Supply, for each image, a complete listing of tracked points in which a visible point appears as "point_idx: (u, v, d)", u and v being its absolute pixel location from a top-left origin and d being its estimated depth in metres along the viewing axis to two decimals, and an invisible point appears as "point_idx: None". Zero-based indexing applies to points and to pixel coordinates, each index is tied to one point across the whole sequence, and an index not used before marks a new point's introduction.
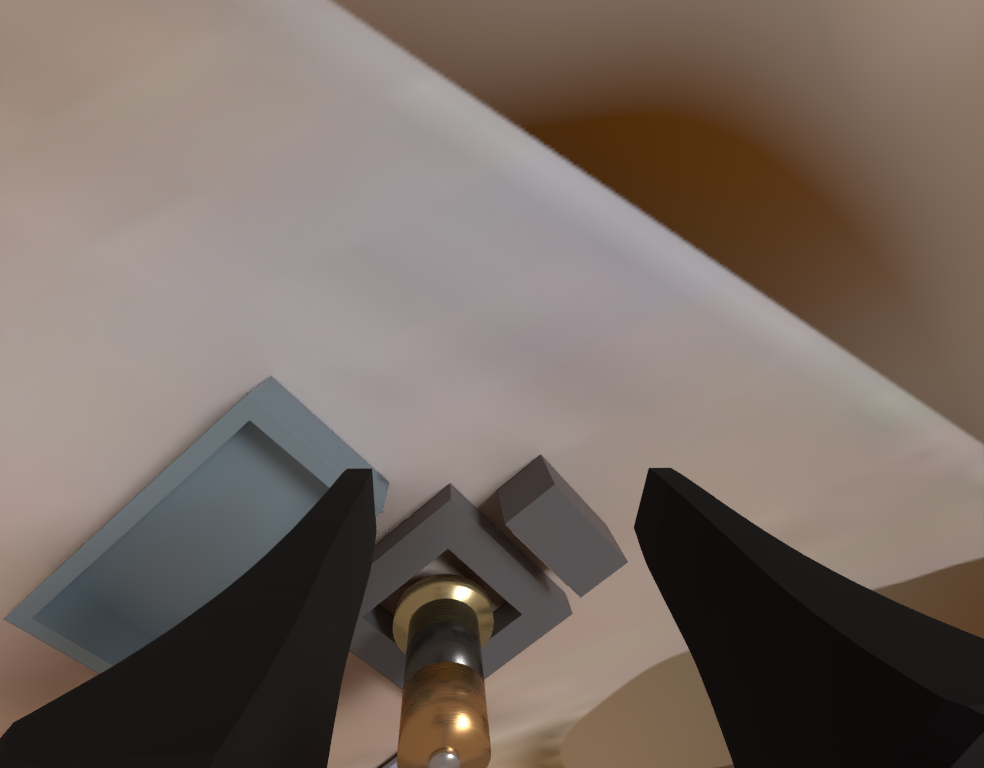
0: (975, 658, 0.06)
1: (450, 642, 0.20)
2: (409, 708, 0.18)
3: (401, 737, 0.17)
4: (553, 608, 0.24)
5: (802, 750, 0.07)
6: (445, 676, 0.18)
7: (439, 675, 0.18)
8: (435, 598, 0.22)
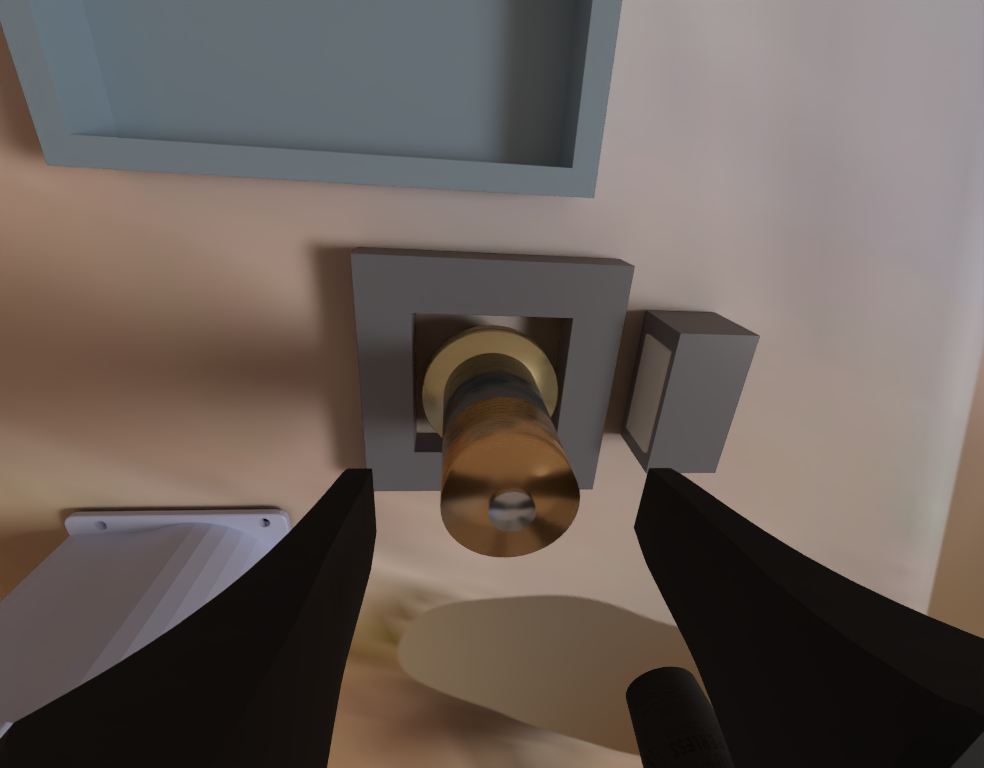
0: (975, 658, 0.06)
1: (542, 402, 0.14)
2: (500, 421, 0.12)
3: (485, 442, 0.11)
4: (584, 470, 0.20)
5: (802, 750, 0.07)
6: (548, 424, 0.13)
7: (542, 418, 0.13)
8: (518, 357, 0.16)
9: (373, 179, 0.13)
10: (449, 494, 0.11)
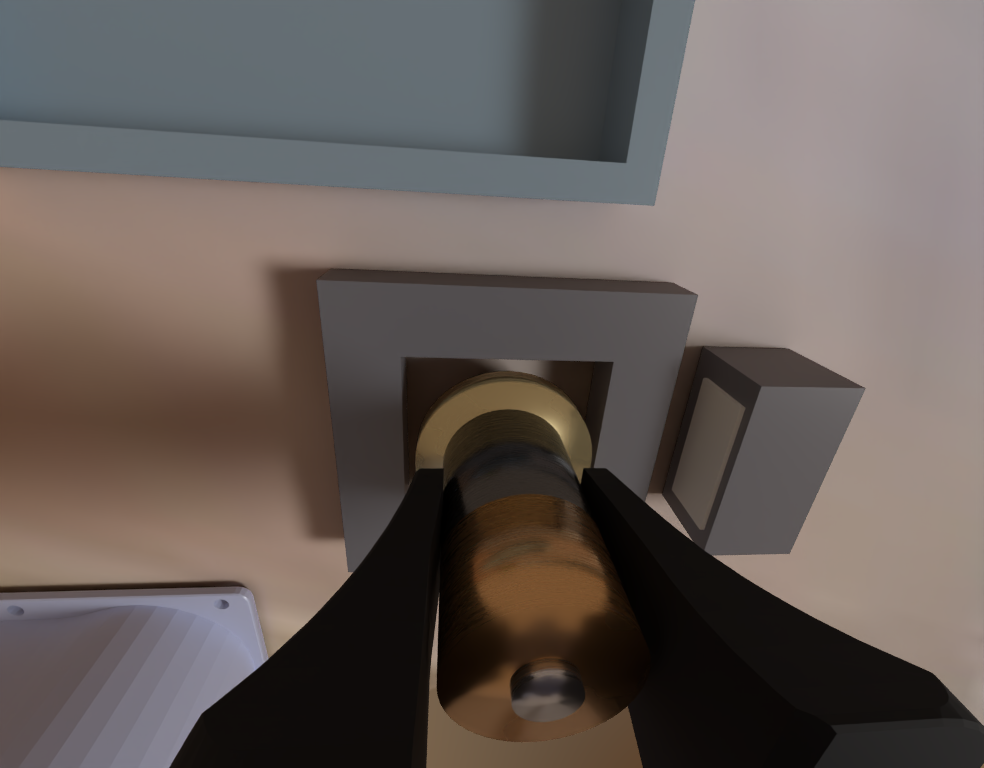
0: (849, 663, 0.05)
1: (580, 489, 0.10)
2: (528, 547, 0.08)
3: (507, 592, 0.07)
4: None
5: (692, 758, 0.07)
6: (594, 535, 0.09)
7: (586, 527, 0.09)
8: (541, 414, 0.12)
9: (342, 179, 0.09)
10: (450, 670, 0.07)
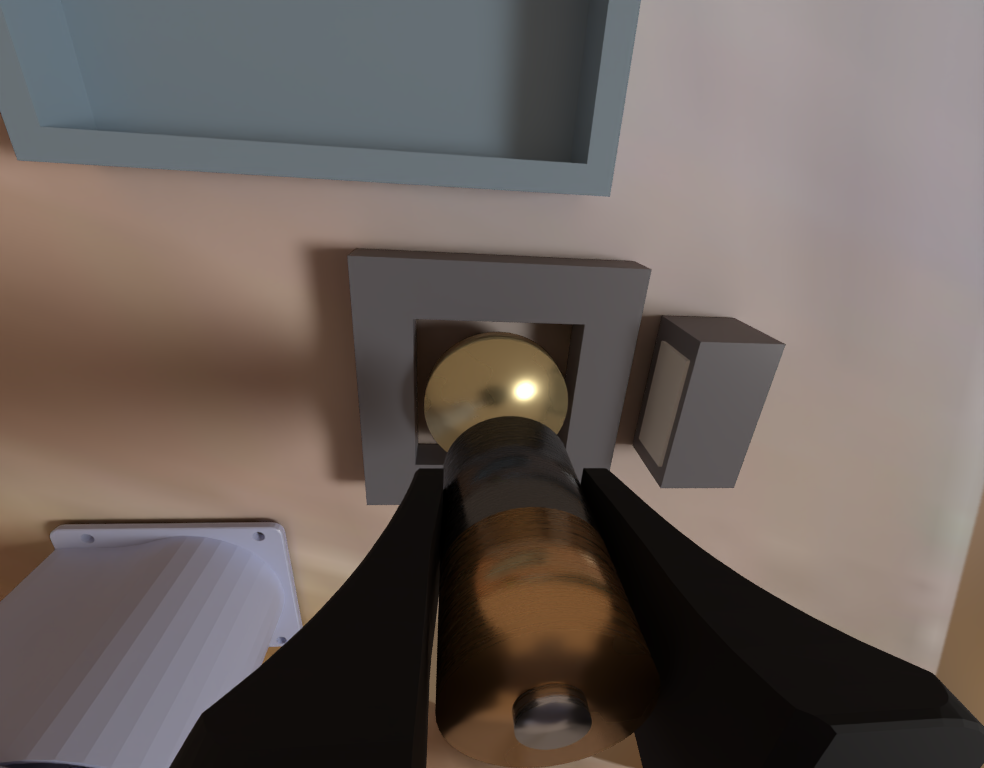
0: (849, 664, 0.05)
1: (584, 500, 0.10)
2: (532, 565, 0.07)
3: (510, 614, 0.07)
4: None
5: (692, 757, 0.07)
6: (600, 551, 0.08)
7: (591, 542, 0.08)
8: (526, 366, 0.15)
9: (371, 176, 0.12)
10: (450, 696, 0.07)
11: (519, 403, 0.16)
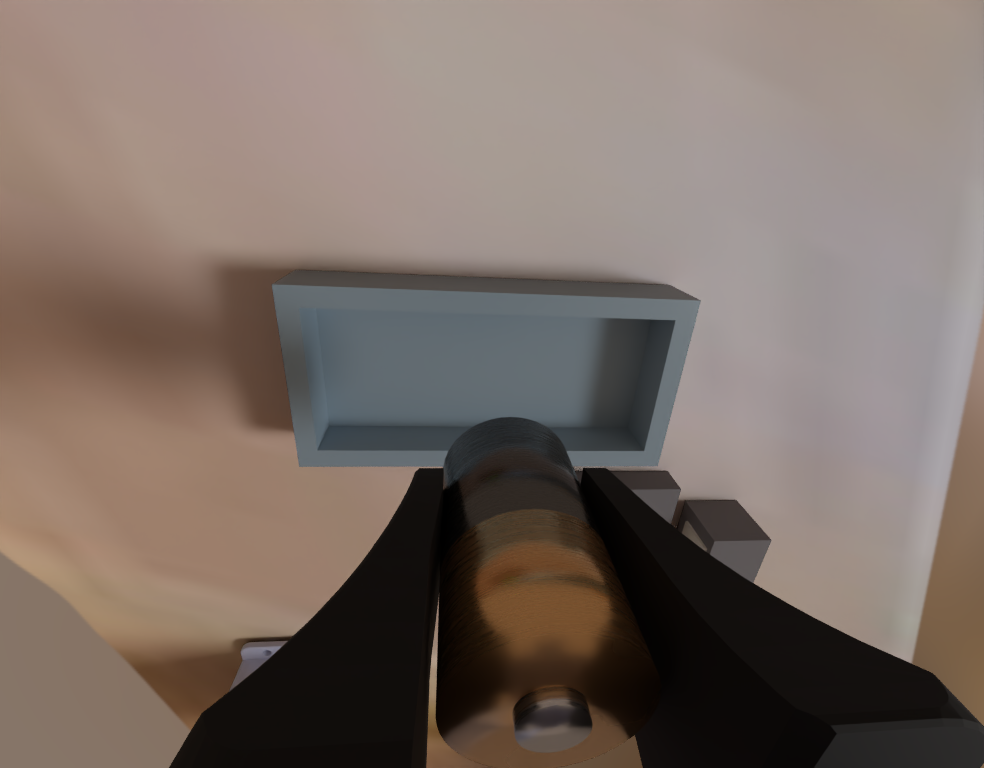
0: (849, 664, 0.05)
1: (584, 501, 0.10)
2: (531, 568, 0.07)
3: (509, 618, 0.07)
4: None
5: (692, 758, 0.07)
6: (600, 552, 0.08)
7: (591, 543, 0.08)
8: None
9: None
10: (450, 700, 0.07)
11: None
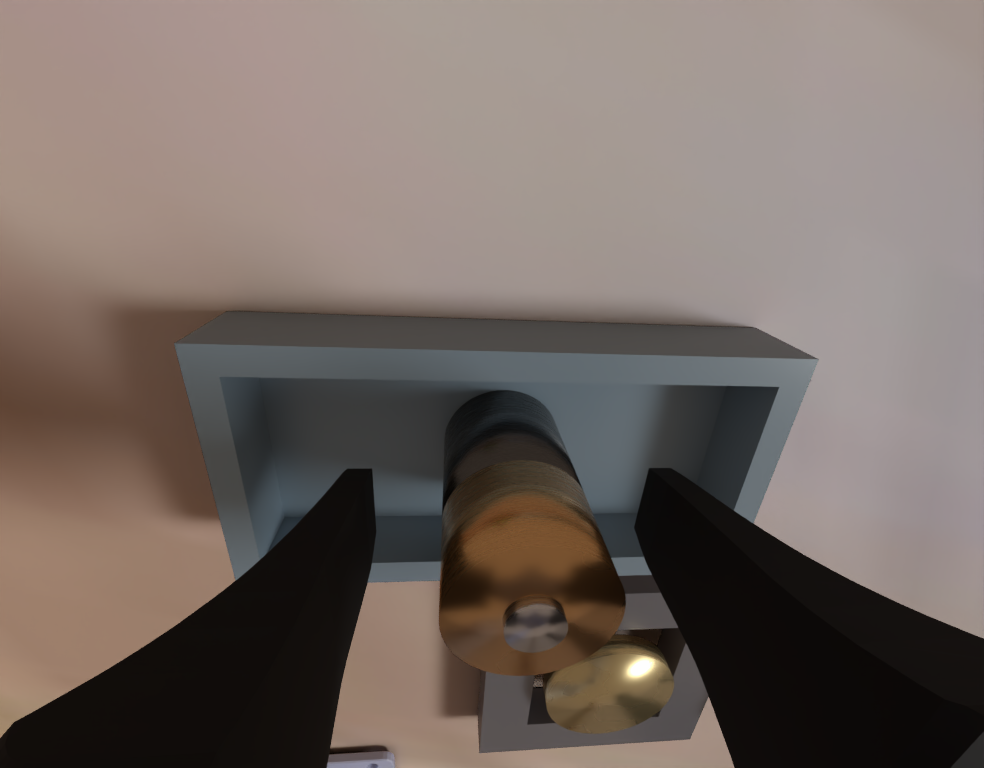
0: (975, 658, 0.06)
1: (568, 459, 0.11)
2: (518, 502, 0.09)
3: (499, 537, 0.08)
4: (684, 727, 0.21)
5: (802, 750, 0.07)
6: (579, 496, 0.10)
7: (571, 488, 0.10)
8: (640, 669, 0.17)
9: None
10: (450, 606, 0.08)
11: (630, 692, 0.18)
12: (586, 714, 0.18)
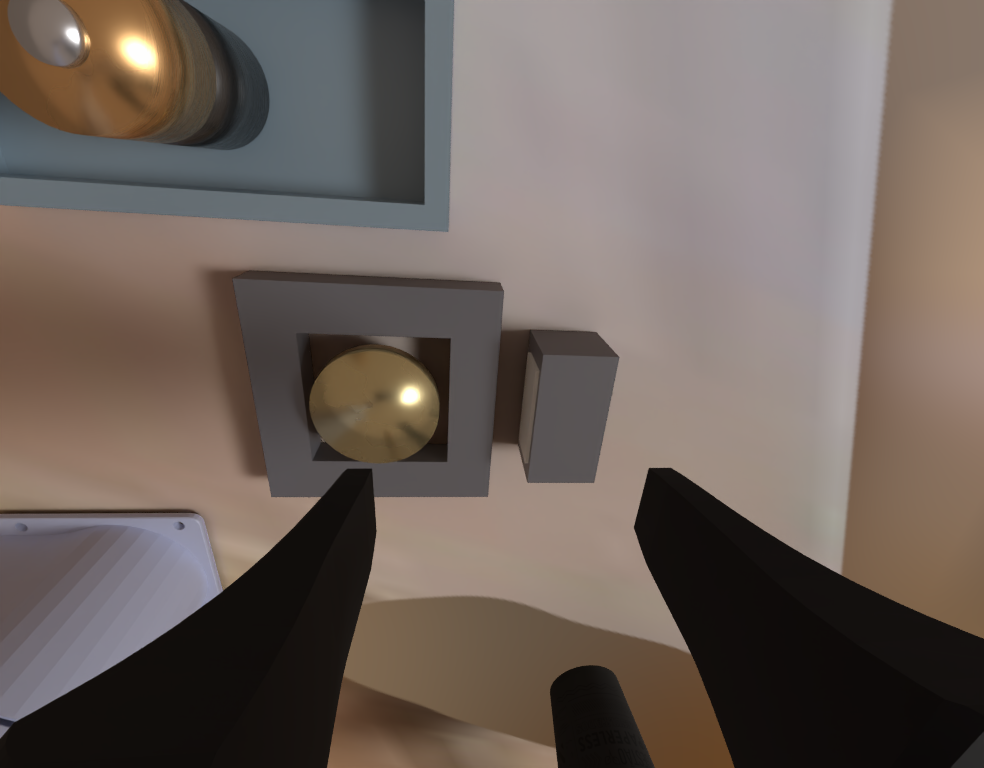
0: (975, 658, 0.06)
1: (209, 24, 0.12)
2: None
3: None
4: (478, 478, 0.21)
5: (802, 750, 0.07)
6: None
7: None
8: (397, 375, 0.18)
9: (238, 214, 0.14)
10: None
11: (395, 407, 0.18)
12: (356, 434, 0.19)
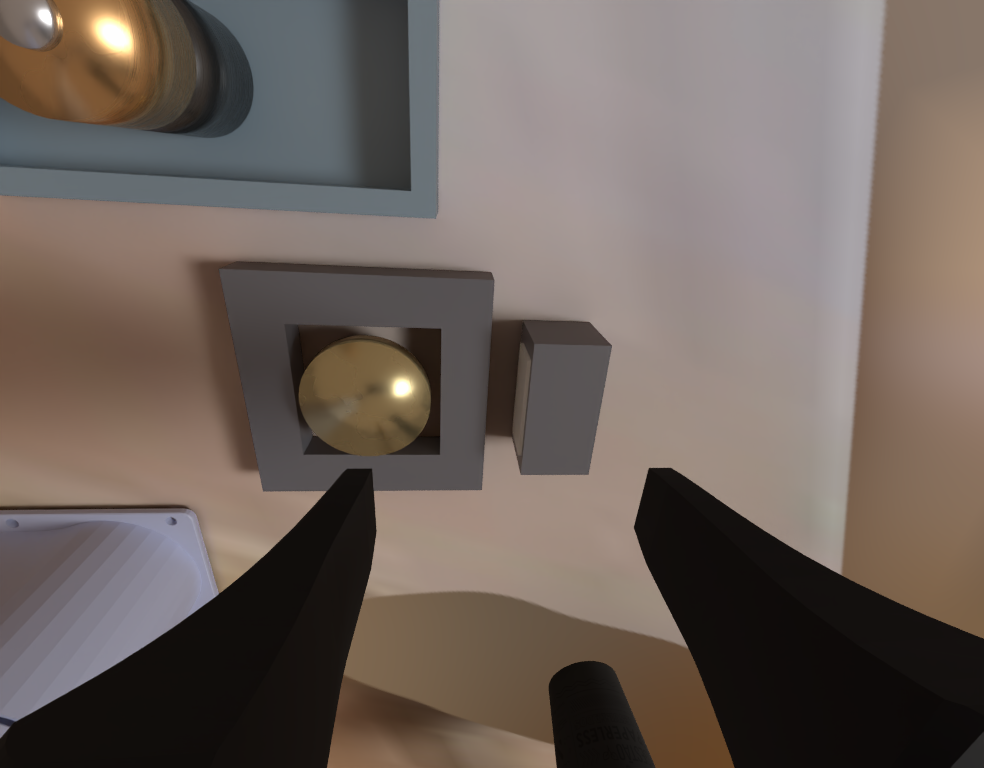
0: (976, 658, 0.06)
1: (188, 8, 0.12)
2: None
3: None
4: (471, 471, 0.21)
5: (802, 750, 0.07)
6: None
7: None
8: (387, 366, 0.17)
9: (222, 202, 0.14)
10: None
11: (385, 398, 0.18)
12: (347, 426, 0.18)
